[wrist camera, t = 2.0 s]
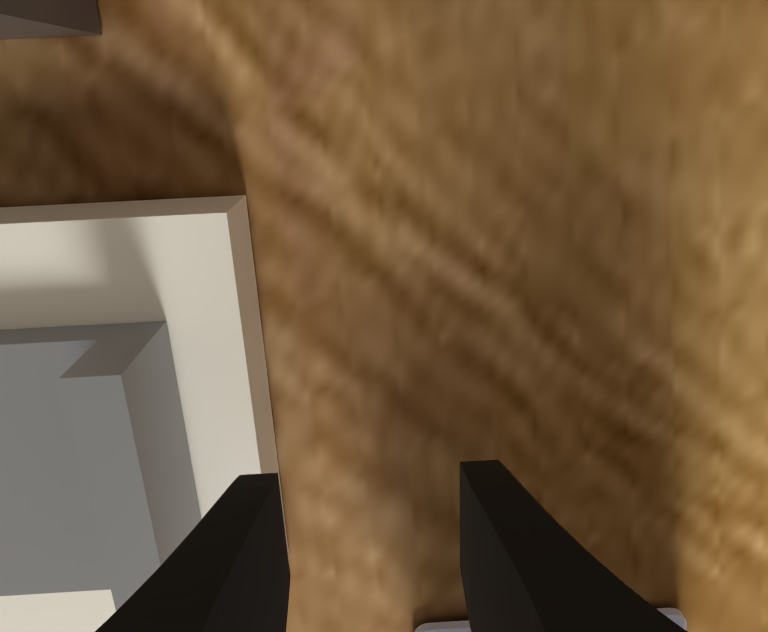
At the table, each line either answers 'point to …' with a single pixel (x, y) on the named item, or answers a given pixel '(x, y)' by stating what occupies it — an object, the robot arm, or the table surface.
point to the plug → (48, 18)
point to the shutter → (91, 459)
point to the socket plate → (149, 304)
